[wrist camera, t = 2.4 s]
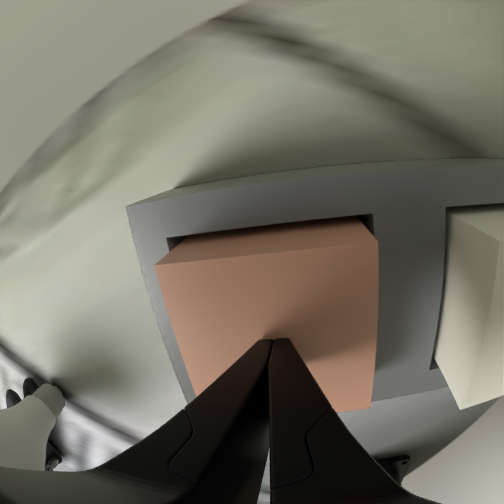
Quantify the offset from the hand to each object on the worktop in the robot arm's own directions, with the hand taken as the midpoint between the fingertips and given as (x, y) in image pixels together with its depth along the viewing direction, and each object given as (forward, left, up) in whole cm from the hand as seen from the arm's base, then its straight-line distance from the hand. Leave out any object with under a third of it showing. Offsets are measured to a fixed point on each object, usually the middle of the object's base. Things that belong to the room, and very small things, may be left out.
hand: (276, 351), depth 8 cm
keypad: (0, -4, -6) cm, 7 cm away
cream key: (0, -9, -3) cm, 9 cm away
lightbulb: (-9, +19, -6) cm, 22 cm away
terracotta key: (0, 0, -4) cm, 4 cm away
